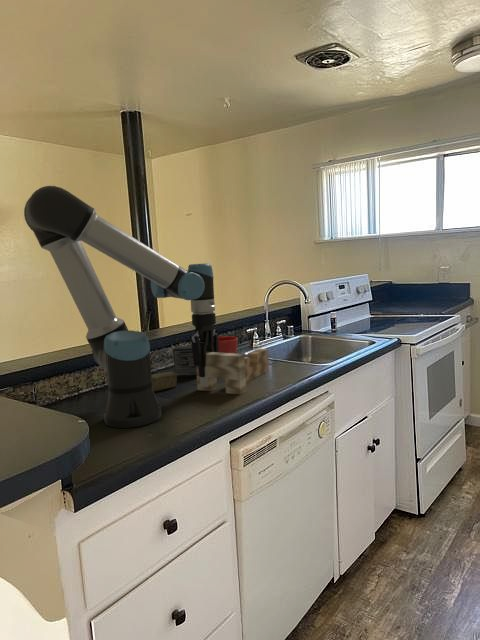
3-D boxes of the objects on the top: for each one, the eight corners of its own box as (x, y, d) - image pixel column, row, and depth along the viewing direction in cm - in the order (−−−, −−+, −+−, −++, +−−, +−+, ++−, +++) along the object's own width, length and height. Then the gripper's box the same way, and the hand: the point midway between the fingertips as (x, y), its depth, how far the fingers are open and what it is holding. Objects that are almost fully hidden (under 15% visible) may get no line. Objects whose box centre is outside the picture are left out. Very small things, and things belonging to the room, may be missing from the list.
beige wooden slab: (246, 391, 152) (244, 354, 150) (240, 394, 149) (238, 356, 147) (203, 387, 160) (201, 351, 158) (197, 389, 157) (195, 353, 155)
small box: (206, 372, 180) (204, 344, 178) (203, 376, 173) (201, 348, 172) (178, 373, 181) (176, 345, 180) (174, 377, 175) (172, 349, 173)
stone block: (178, 387, 162) (177, 372, 161) (146, 394, 155) (145, 379, 155) (170, 384, 166) (169, 369, 166) (139, 391, 160) (137, 376, 159)
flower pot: (213, 360, 200) (211, 336, 198) (239, 358, 199) (238, 335, 198) (210, 366, 189) (208, 341, 188) (238, 364, 189) (237, 340, 187)
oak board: (238, 386, 158) (237, 362, 157) (229, 385, 160) (227, 361, 159) (268, 370, 177) (267, 349, 176) (260, 369, 179) (259, 348, 178)
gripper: (198, 316, 144) (203, 392, 148) (227, 309, 159) (231, 379, 162) (177, 316, 148) (183, 390, 151) (208, 309, 162) (212, 377, 166)
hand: (208, 384), depth 157 cm, fingers closed on beige wooden slab, 3 cm apart
